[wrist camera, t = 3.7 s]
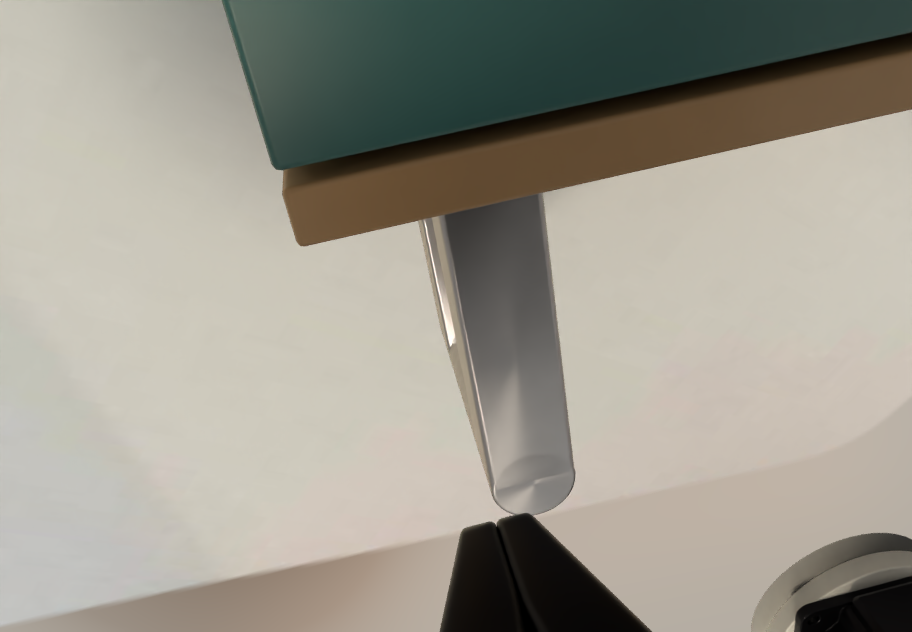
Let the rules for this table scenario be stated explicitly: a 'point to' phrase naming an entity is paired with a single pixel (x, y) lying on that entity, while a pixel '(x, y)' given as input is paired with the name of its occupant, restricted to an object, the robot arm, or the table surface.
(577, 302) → the table surface
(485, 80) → the green cabinet
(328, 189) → the wooden cabinet door
